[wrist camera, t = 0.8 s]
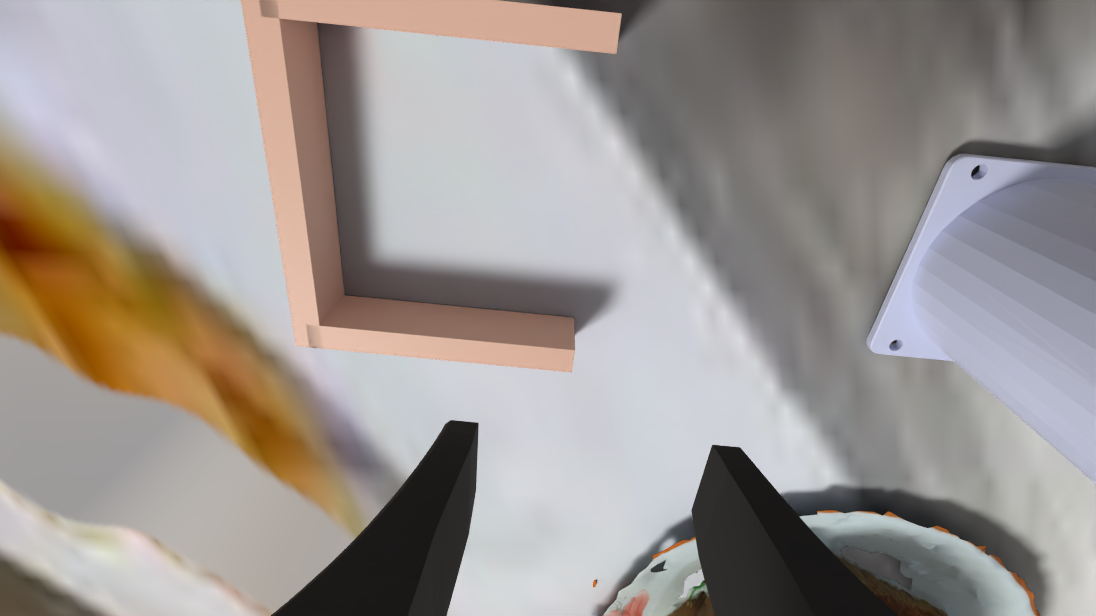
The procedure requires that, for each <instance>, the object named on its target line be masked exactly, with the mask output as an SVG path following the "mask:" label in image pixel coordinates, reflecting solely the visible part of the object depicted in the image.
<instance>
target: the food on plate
mask: <svg viewBox="0 0 1096 616" xmlns="http://www.w3.org/2000/svg"><path fill="white" fill-rule="evenodd" d="M817 514H818V515H808V516H799V517H800V518H801V519H802V520H803V521H804V523H805V524H806V525H807V526H808V527H809V528H810V529H811V530H812V531H813V532H814V534H815V535H816V536H817V537H818V538H819V539H820V540H821V541H822V542H823V543H824V544H825V545H826V546H827V547H828V548H829V549H830V550H831V551H832V553H833V554H834V555H835V556H836V557H837V558H838V559H839V560H840V561H841V562H842V563H843V564H844V565H845V566H846V567H847V568H848V569H849V570H850V571H851V572H852V573H853V574H854V575H855V576H856V577H857V578H858V579H859V580H860V581H861V582H862V583H863V584H864V585H866V586H867V587H868V588H869V589H870V590H871V591H872V592H873V593H874V594H875V595H876V596H877V597H878V598H880V599H881V600H882V601H883V602H884V603H885V604H886V605H887V606H888V607H889V608H891V609H892V610H893V611H894V612H895V613H896V614H897V615H898V616H1040V615H1039V612H1038V610H1035V605H1034V594H1033V593H1032V592H1031V591H1030V590H1029V589H1027V586H1026V583H1025V581H1024V580H1023V579H1021V578H1019V577H1018V576H1017V575H1016V573H1013V572H1009V571H1008V570H1007V569H1006V568H1005V566H1004V565H1003V563H1002V561H1001V559H1000V558H998V557H996V556H994V555H987V554H986V553H985V548H986V547H987V546H975V545H974V544H973V543H971V542H968V541H965V540H961V539H960V538H959V537H958V536H957V535H953V534H951V533H950V532H949V531H948V530H947V529H944V528H942V527H939V526H934V527H931V528H925V527H922V526H919V525H916V524H913V523H911V522H908V521H906V520H903V519H902V518H900V517H898V516H896V515H895V514H893V513H891V512H889V511H888V512H887V513H886V514H884V515H883V516H882V515H880V514H877V513H875V512H865V511H855V512H850V513H842V512H839V511H834V510H827V511H817ZM846 546H847V547H853V548H856V549H860V550H864V551H868V552H870V553H878V552H882V553H886V554H888V555H890V556H892V557H894V558H895V559H897V560H899V561H901V565H900V566H901V567H900V572H901V573H902V574H903V575H904V576H905V577H907V578H911V579H912V587H911V589H910V590H909V589H908V588H906V587H905V586H903V585H900V583H898V582H896V581H894V580H891V579H888V578H885V577H882V576H878V574H874V573H870V572H867V571H866V570H864V569H860V568H858V565H857V564H856V563H853V562H852V561H850V560H848V559H846V558H845V557H843V556H842V555H841V549H843V548H844V547H846ZM652 557H653V561H652V562H651V563H650V564H649V565H648V567H647V568H646V569H644V570H643V571H641V572H640V573H639V574H638V575H637V577H636V578H635V580H634V581H633V582H632V584H630V585H629V586H627V587H625V588H624V589H622V590H620V591H619V592H618V596H617V599H616V600H615V601H614V603H613V604H612V605H611V606H610V607H609V608H608V609H607V611H606V612H605V613H604V615H603V616H715V615H714V612H713V608H712V605H711V601H710V597H709V594H708V590H707V586H706V583H705V581H702V583H701V585H700V586H696V587H692V588H691V589H689V592H688V594H687V597H686V598H680V599H677V598H678V597H679V596H680V595H681V594H682V593H683V588H684V581H685V580H686V578H687V577H688V576H689V575H691V574H693V573H697V572H698V570H700V569H701V564H700V560H699V556H698V550H697V544H696V538H695V537H693V538H692V539H691V540H682V541H680V542H678V543H676V544H675V545H673V546H671V547H669V548H667V549H665V550H664V551H662V552H660V553H657V554H655V555H653V556H652ZM664 560H666V562H665V565H664V568H663V569H668V570H665V571H661V572H657V573H654V572H651V570H650V569H652V568H653V567H654V566H656V565H657V564H659V563H661V562H663V561H664ZM595 585H596V581H595V580H594V582H593V587H595Z"/></svg>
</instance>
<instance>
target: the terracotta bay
mask: <svg viewBox="0 0 1096 616" xmlns="http://www.w3.org/2000/svg"><path fill="white" fill-rule="evenodd" d="M241 3H242V10H243V16H244V22H245V28H246V35H247V41H248V47H249V54H250V60H251V66H252V72H253V79H254V85H255V91H256V98H257V104H258V110H259V117H260V123H261V129H262V135H263V142H264V148H265V154H266V161H267V167H268V173H269V180H270V186H271V192H272V198H273V205H274V211H275V217H276V224H277V230H278V236H279V242H280V249H281V255H282V261H283V268H284V274H285V280H286V287H287V293H288V299H289V305H290V312H291V318H292V324H293V331H294V337H295V343H296V346H302V347H312V348H323V349H333V350H343V351H354V352H364V353H375V354H385V355H396V356H406V357H417V358H427V359H437V360H448V361H458V362H469V363H479V364H490V365H500V366H510V367H521V368H531V369H542V370H552V371H563V372H572V368H573V360H574V353H575V333H574V318H573V317H562V316H552V315H542V314H531V313H521V312H511V311H501V310H490V309H480V308H470V307H460V306H449V305H439V304H429V303H418V302H408V301H398V300H388V299H377V298H367V297H357V296H347V295H345V294H344V284H343V274H342V264H341V254H340V244H339V235H338V225H337V215H336V205H335V195H334V185H333V175H332V166H331V156H330V146H329V136H328V126H327V116H326V106H325V97H324V87H323V77H322V67H321V57H320V47H319V37H318V28H317V22H318V23H327V24H337V25H346V26H356V27H365V28H375V29H384V30H394V31H403V32H413V33H423V34H432V35H442V36H451V37H461V38H470V39H480V40H489V41H499V42H508V43H518V44H527V45H537V46H546V47H556V48H565V49H575V50H584V51H594V52H603V53H613V54H616V52H617V44H618V37H619V30H620V23H621V16H622V13H613V12H603V11H594V10H584V9H575V8H565V7H556V6H547V5H537V4H528V3H518V2H509V1H500V0H241Z"/></svg>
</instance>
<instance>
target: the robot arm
mask: <svg viewBox="0 0 1096 616" xmlns="http://www.w3.org/2000/svg"><path fill="white" fill-rule="evenodd" d="M978 165H980V168H979V171H978V172H977V174H975V175H974V176H972V177H971V172H972V170H973V169H974V168H975V167H976V166H978ZM894 340H897V342H896V343H895V344H893V345H890V344H891V342H893V341H894ZM866 343H867V346H868V347H869V348H870V349H871V350H872V351H873V352H874V353H877V354H885V355H896V356H906V357H916V358H926V359H937V360H947V361H954V362H955V363H957V364H958V365H959V366H960V367H961V368H962V369H963V370H965V371H966V372H967V373H968V374H969V375H970V376H972V377H973V378H974V379H975V380H976V381H977V382H978V383H980V384H981V385H982V386H983V387H984V388H985V389H987V390H988V391H989V392H990V393H991V394H992V395H993V396H995V397H996V398H997V399H998V400H999V401H1000V402H1002V403H1003V404H1004V405H1005V406H1006V407H1007V408H1008V409H1010V410H1011V411H1012V412H1013V413H1014V414H1015V415H1017V416H1018V417H1019V418H1020V419H1021V420H1022V421H1023V422H1025V423H1026V424H1027V425H1028V426H1029V427H1030V428H1032V429H1033V430H1034V431H1035V432H1036V433H1037V434H1038V435H1040V436H1041V437H1042V438H1043V439H1044V440H1045V441H1047V442H1048V443H1049V444H1050V445H1051V446H1052V447H1053V448H1055V449H1056V450H1057V451H1058V452H1059V453H1060V454H1062V455H1063V456H1064V457H1065V458H1066V459H1067V460H1068V461H1070V462H1071V463H1072V464H1073V465H1074V466H1075V467H1076V468H1078V469H1079V470H1080V471H1081V472H1082V473H1083V474H1085V475H1086V476H1087V477H1088V478H1089V479H1090V480H1091V481H1093V482H1094V483H1095V484H1096V167H1090V166H1081V165H1071V164H1061V163H1052V162H1042V161H1032V160H1022V159H1013V158H1003V157H993V156H984V155H974V154H958V155H956V156H954V157H952V158H951V159H950V160H949V161H948V162H947V163H946V165H945V166H944V168H943V170H942V172H941V175H940V177H939V179H938V181H937V184H936V186H935V188H934V190H933V193H932V195H931V197H930V199H929V202H928V204H927V206H926V208H925V211H924V213H923V215H922V217H921V219H920V222H919V224H918V226H917V228H916V231H915V233H914V235H913V237H912V240H911V242H910V244H909V246H908V249H907V251H906V253H905V255H904V258H903V260H902V262H901V264H900V266H899V269H898V271H897V273H896V275H895V278H894V280H893V282H892V284H891V287H890V289H889V291H888V293H887V296H886V298H885V300H884V302H883V305H882V307H881V309H880V311H879V313H878V316H877V318H876V320H875V322H874V325H873V327H872V329H871V331H870V334H869V336H868V338H867V342H866ZM889 345H890V346H889ZM477 449H478V423H474V422H464V421H453V420H451V421H449V422H448V423H446V424H445V426H444V427H443V429H442V431H441V433H440V434H439V436H438V437H437V439H436V440H435V442H434V443H433V445H432V446H431V448H430V449H429V451H428V452H427V454H426V455H425V456H424V458H423V459H422V461H421V462H420V463H419V465H418V466H417V467H416V469H415V470H414V471H413V472H412V474H411V475H410V476H409V478H408V479H407V480H406V481H405V483H404V484H403V485H402V487H401V488H400V489H399V490H398V492H397V493H396V494H395V495H394V496H393V498H392V499H391V500H390V501H389V502H388V503H387V504H386V506H385V507H384V508H383V509H382V510H381V511H380V512H379V514H378V515H377V516H376V517H375V518H374V519H373V520H372V521H371V523H370V524H369V525H368V526H367V527H366V528H365V529H364V530H363V531H362V532H361V533H360V534H359V535H358V537H357V538H356V539H355V540H354V541H353V542H352V543H351V544H350V545H349V546H348V547H347V548H346V549H345V550H344V551H343V552H342V553H341V554H340V555H339V556H338V557H337V558H336V559H335V560H334V561H333V562H331V563H330V564H329V565H328V566H327V567H326V568H325V569H324V570H323V571H322V572H321V573H320V574H318V575H317V576H316V577H315V578H314V579H313V580H312V581H311V582H310V583H308V584H307V585H306V586H305V587H304V588H303V589H302V590H301V591H300V592H298V593H297V594H296V595H295V596H294V597H293V598H291V599H290V600H289V601H288V602H287V603H286V604H284V605H283V606H282V607H281V608H280V609H278V610H277V611H276V612H275V613H273V614H272V615H271V616H447V612H448V608H449V605H450V601H451V597H452V594H453V590H454V586H455V583H456V579H457V576H458V572H459V568H460V564H461V561H462V557H463V553H464V550H465V546H466V542H467V539H468V535H469V529H470V523H471V517H472V511H473V505H474V499H475V492H476V474H477ZM692 517H693V524H694V531H695V538H696V544H697V550H698V556H699V560H700V564H701V568H702V572H703V575H704V579H705V583H706V586H707V590H708V594H709V597H710V601H711V605H712V608H713V612H714V615H715V616H898V615H897V614H896V613H895V612H894V611H893V610H892V609H891V608H889V607H888V606H887V605H886V604H885V603H884V602H883V601H882V600H881V599H880V598H878V597H877V596H876V595H875V594H874V593H873V592H872V591H871V590H870V589H869V588H868V587H867V586H866V585H864V584H863V583H862V582H861V581H860V580H859V579H858V578H857V577H856V576H855V575H854V574H853V573H852V572H851V571H850V570H849V569H848V568H847V567H846V566H845V565H844V564H843V563H842V562H841V561H840V560H839V559H838V558H837V557H836V556H835V555H834V554H833V553H832V551H831V550H830V549H829V548H828V547H827V546H826V545H825V544H824V543H823V542H822V541H821V540H820V539H819V538H818V537H817V536H816V535H815V534H814V532H813V531H812V530H811V529H810V528H809V527H808V526H807V525H806V524H805V523H804V521H803V520H802V519H801V518H800V517H799V516H798V515H797V514H796V512H795V511H794V510H793V509H792V508H791V507H790V506H789V504H788V503H787V502H786V501H785V500H784V499H783V498H782V496H781V495H780V494H779V493H778V492H777V490H776V489H775V488H774V487H773V486H772V485H771V483H770V482H769V481H768V480H767V479H766V478H765V476H764V475H763V474H762V473H761V472H760V470H759V469H758V468H757V467H756V466H755V464H754V463H753V462H752V461H751V460H750V459H749V457H748V456H747V455H746V454H745V453H744V452H743V450H742V449H741V448H740V447H729V446H719V445H712V448H711V451H710V454H709V457H708V460H707V463H706V466H705V470H704V473H703V476H702V479H701V482H700V485H699V488H698V491H697V495H696V498H695V501H694V504H693V507H692Z"/></svg>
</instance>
